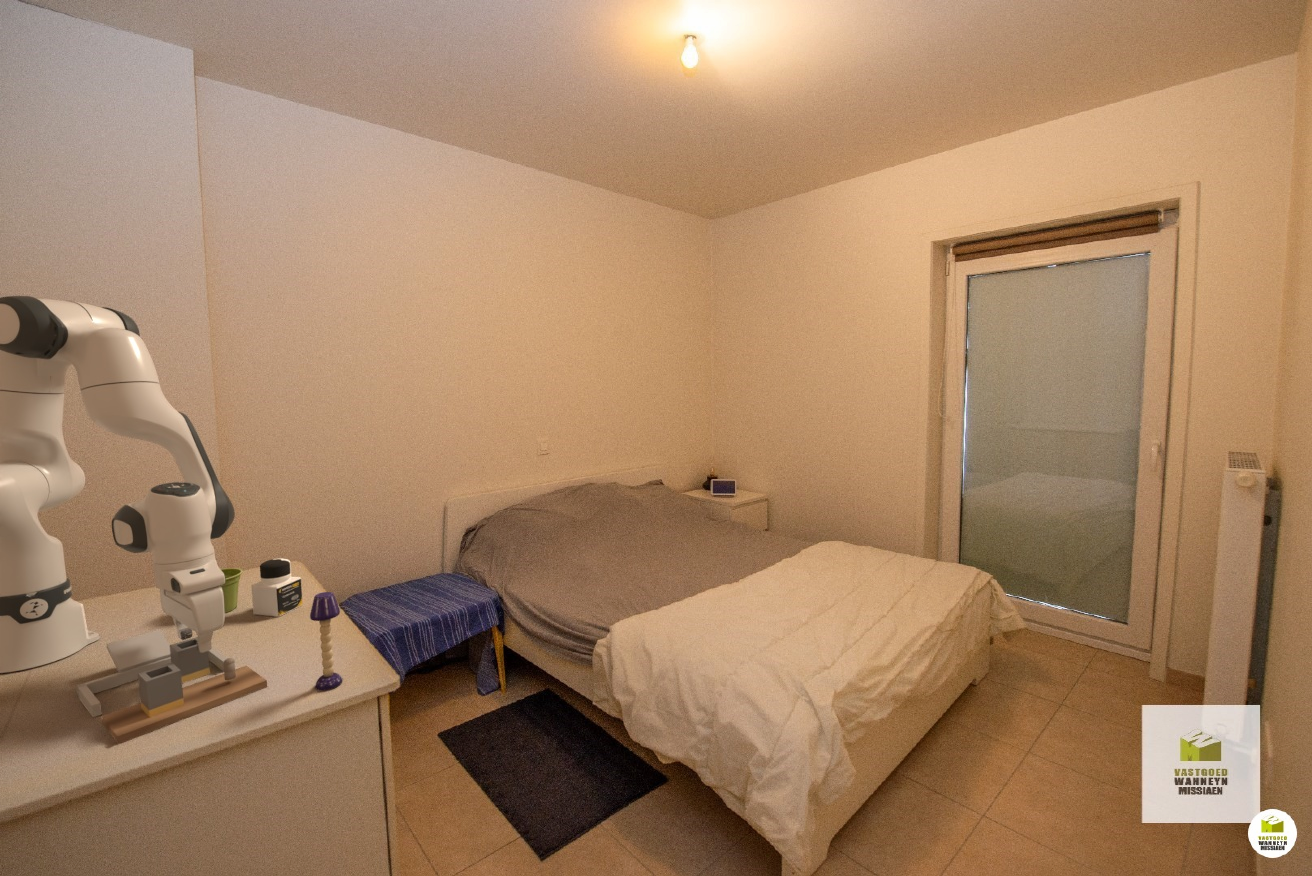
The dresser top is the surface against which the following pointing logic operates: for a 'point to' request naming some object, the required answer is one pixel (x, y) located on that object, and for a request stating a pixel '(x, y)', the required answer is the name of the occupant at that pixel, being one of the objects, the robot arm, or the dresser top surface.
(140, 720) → the pin board
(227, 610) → the plant pot
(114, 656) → the tray
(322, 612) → the toy lamp
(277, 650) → the dresser top surface
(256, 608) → the medicine bottle
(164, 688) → the sleeve
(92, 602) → the dresser top surface
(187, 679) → the sleeve
